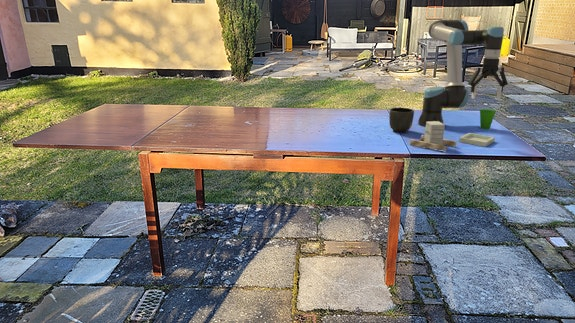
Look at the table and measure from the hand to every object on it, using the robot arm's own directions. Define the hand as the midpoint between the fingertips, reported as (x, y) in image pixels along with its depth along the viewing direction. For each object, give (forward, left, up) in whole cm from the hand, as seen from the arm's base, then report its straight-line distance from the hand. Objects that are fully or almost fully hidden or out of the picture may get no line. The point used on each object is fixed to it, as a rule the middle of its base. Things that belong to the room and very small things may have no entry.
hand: (485, 98), depth 228 cm
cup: (-7, +28, -23) cm, 37 cm away
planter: (-42, -13, -23) cm, 50 cm away
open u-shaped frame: (-14, -29, -23) cm, 39 cm away
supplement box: (-14, -29, -23) cm, 40 cm away
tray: (0, -5, -23) cm, 24 cm away
